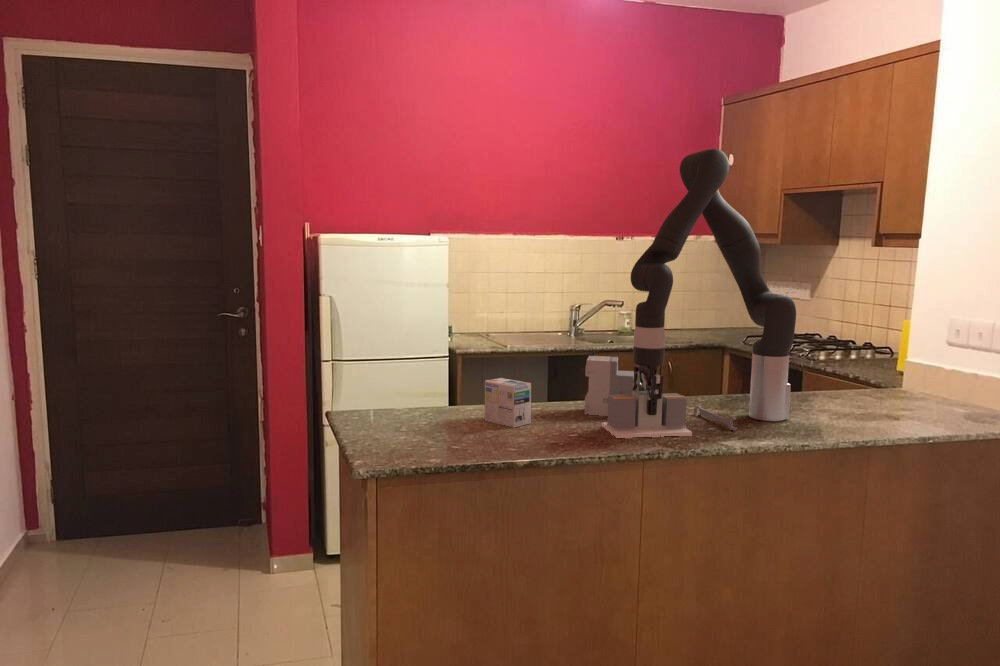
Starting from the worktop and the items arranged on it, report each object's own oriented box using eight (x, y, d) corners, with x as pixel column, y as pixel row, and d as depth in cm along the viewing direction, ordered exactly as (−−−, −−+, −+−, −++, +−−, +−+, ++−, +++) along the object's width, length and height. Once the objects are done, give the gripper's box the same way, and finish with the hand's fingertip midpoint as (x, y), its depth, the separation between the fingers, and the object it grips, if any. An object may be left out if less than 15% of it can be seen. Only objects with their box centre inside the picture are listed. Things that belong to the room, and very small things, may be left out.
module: (653, 421, 192) (655, 389, 191) (661, 426, 187) (662, 393, 186) (631, 422, 191) (632, 390, 190) (637, 427, 186) (639, 394, 185)
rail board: (672, 423, 197) (673, 389, 196) (691, 436, 185) (693, 400, 184) (601, 426, 194) (602, 391, 192) (616, 438, 182) (618, 402, 181)
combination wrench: (693, 403, 208) (733, 418, 189) (698, 402, 208) (738, 418, 189) (693, 416, 208) (733, 433, 189) (697, 416, 209) (737, 433, 189)
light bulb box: (531, 423, 195) (532, 382, 194) (514, 428, 190) (514, 386, 189) (501, 416, 203) (501, 376, 201) (483, 421, 198) (483, 380, 196)
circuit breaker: (638, 418, 202) (640, 362, 200) (584, 415, 205) (585, 360, 203) (638, 411, 210) (640, 358, 208) (586, 408, 213) (588, 355, 211)
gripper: (675, 349, 180) (672, 418, 182) (652, 340, 194) (650, 404, 196) (644, 349, 179) (642, 419, 181) (624, 340, 193) (622, 405, 195)
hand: (646, 411), depth 189 cm, fingers open, 6 cm apart
